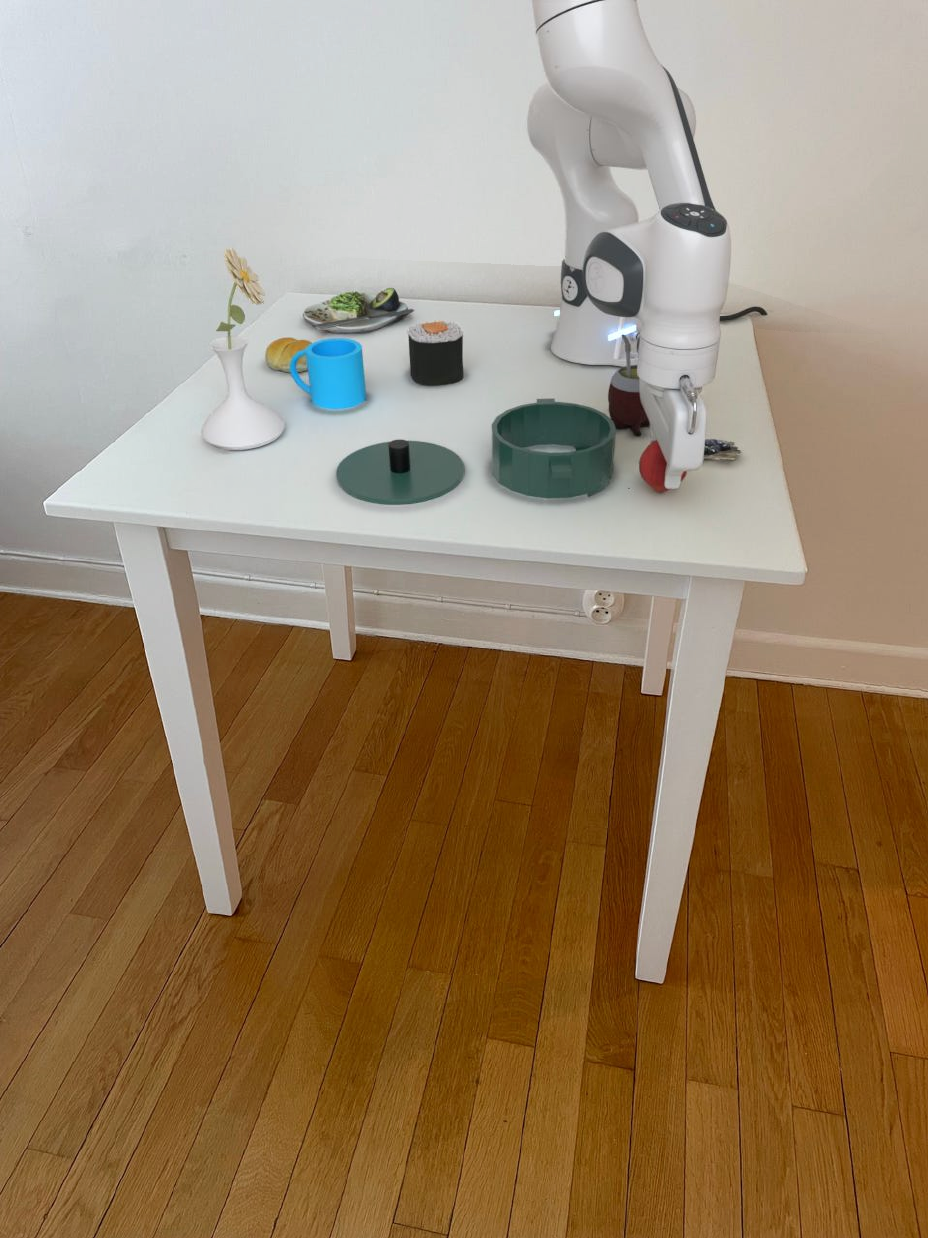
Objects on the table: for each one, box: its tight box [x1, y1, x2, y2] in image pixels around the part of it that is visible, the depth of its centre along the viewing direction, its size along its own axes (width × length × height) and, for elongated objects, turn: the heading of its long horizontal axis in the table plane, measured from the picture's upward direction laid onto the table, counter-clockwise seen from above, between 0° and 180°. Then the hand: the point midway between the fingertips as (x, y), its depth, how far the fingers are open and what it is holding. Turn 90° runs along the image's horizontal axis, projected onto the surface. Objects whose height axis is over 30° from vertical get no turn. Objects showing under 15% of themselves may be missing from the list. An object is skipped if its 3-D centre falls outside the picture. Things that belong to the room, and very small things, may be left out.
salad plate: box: [302, 287, 415, 334], centre depth 169 cm, size 19×18×5 cm
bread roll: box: [264, 337, 313, 373], centre depth 153 cm, size 8×9×4 cm
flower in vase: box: [200, 246, 286, 451], centre depth 126 cm, size 13×11×25 cm
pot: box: [491, 397, 617, 499], centre depth 121 cm, size 15×21×6 cm
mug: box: [289, 337, 367, 410], centre depth 140 cm, size 12×8×8 cm
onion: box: [638, 440, 688, 494], centre depth 116 cm, size 6×6×8 cm
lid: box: [335, 439, 465, 505], centre depth 121 cm, size 16×16×5 cm
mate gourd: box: [607, 334, 650, 437], centre depth 128 cm, size 8×8×15 cm
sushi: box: [406, 320, 464, 387], centre depth 147 cm, size 8×8×8 cm
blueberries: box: [703, 438, 742, 463], centre depth 125 cm, size 7×8×2 cm
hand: (664, 469), depth 116 cm, fingers open, 7 cm apart
